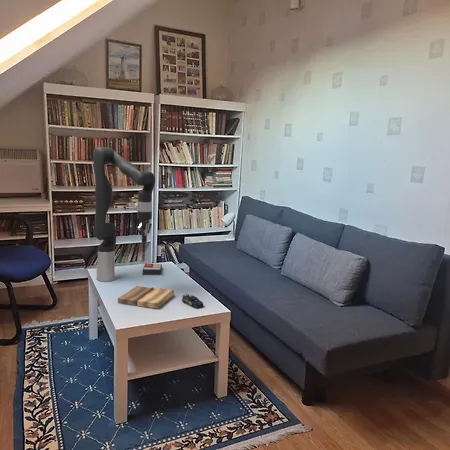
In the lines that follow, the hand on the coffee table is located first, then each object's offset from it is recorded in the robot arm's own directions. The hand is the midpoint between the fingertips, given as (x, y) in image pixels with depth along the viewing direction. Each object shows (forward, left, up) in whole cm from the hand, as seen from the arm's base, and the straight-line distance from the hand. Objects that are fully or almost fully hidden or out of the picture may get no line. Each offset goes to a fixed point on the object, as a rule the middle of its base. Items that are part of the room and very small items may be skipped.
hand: (144, 242), depth 212 cm
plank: (+13, -12, -26) cm, 32 cm away
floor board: (+2, -12, -27) cm, 29 cm away
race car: (+32, -10, -27) cm, 43 cm away
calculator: (-11, +33, -27) cm, 44 cm away
